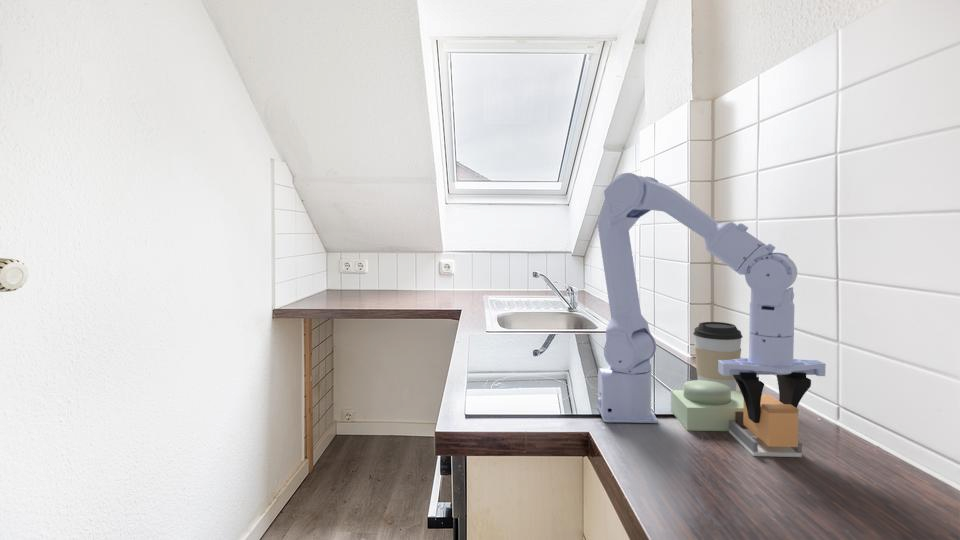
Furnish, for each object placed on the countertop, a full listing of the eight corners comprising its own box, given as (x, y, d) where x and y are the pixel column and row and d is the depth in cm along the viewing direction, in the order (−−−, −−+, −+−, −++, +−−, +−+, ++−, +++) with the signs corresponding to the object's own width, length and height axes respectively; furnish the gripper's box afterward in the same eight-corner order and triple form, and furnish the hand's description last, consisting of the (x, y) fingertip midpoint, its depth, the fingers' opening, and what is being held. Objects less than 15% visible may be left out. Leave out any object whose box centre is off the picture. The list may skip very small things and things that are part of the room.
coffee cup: (730, 387, 100) (730, 318, 99) (750, 402, 91) (751, 327, 90) (686, 387, 101) (687, 319, 100) (702, 401, 92) (703, 327, 91)
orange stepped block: (768, 446, 68) (769, 409, 67) (743, 424, 75) (743, 391, 75) (797, 447, 67) (798, 409, 67) (769, 424, 75) (769, 391, 75)
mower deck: (707, 455, 70) (707, 416, 70) (670, 410, 88) (671, 379, 87) (805, 457, 68) (806, 417, 68) (748, 411, 86) (749, 380, 86)
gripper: (732, 339, 67) (731, 430, 68) (840, 338, 65) (837, 432, 66) (712, 329, 74) (712, 412, 75) (810, 328, 72) (808, 413, 73)
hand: (769, 420), depth 71 cm, fingers closed on orange stepped block, 4 cm apart
